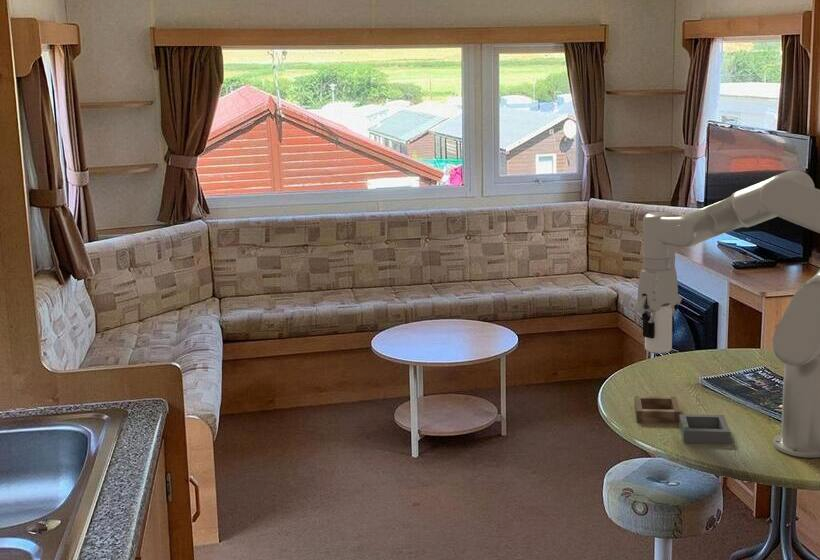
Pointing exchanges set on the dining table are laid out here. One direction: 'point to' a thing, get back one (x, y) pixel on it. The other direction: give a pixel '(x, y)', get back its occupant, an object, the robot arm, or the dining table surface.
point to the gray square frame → (704, 429)
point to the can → (661, 331)
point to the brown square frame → (656, 409)
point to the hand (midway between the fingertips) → (658, 333)
